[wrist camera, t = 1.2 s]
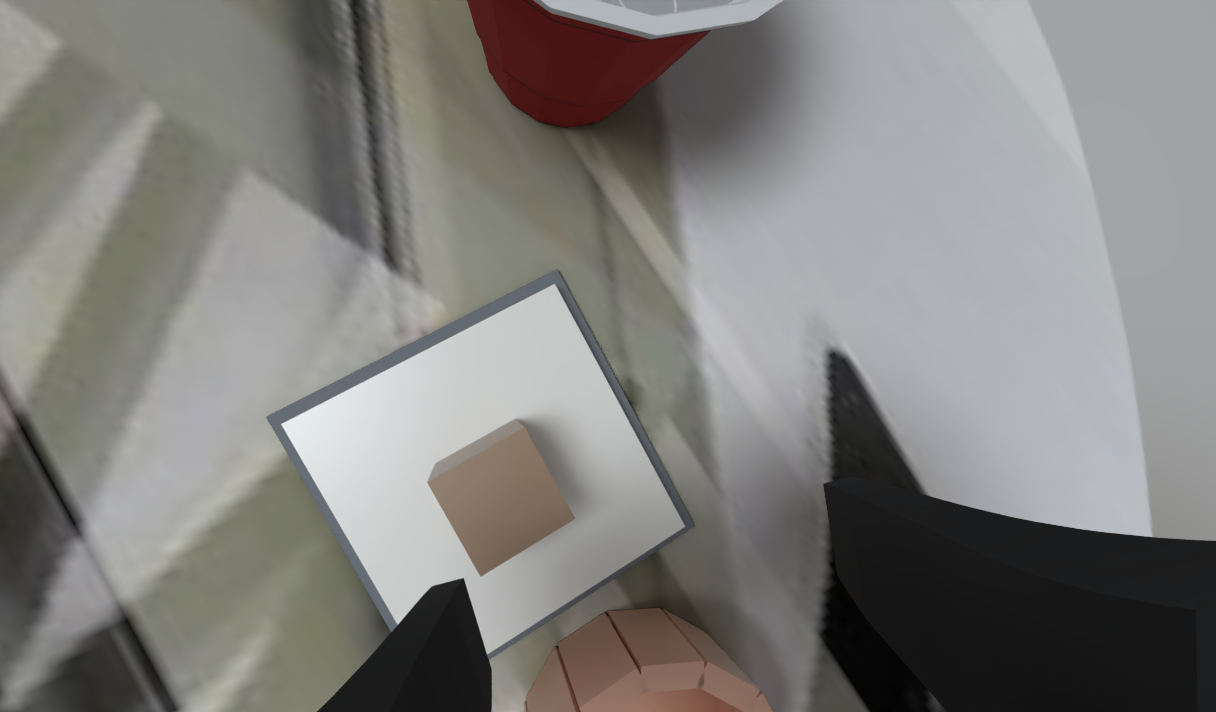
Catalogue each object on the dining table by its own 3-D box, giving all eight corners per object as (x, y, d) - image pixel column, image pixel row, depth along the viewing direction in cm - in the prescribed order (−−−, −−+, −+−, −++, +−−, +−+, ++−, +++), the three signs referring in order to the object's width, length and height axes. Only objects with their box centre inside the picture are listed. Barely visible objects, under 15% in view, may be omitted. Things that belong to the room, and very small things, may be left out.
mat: (430, 693, 21) (429, 698, 21) (268, 416, 20) (265, 416, 20) (692, 524, 23) (694, 525, 23) (556, 270, 23) (557, 269, 22)
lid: (436, 677, 21) (426, 762, 16) (288, 422, 20) (233, 434, 15) (678, 522, 23) (731, 557, 18) (551, 287, 22) (573, 261, 18)
